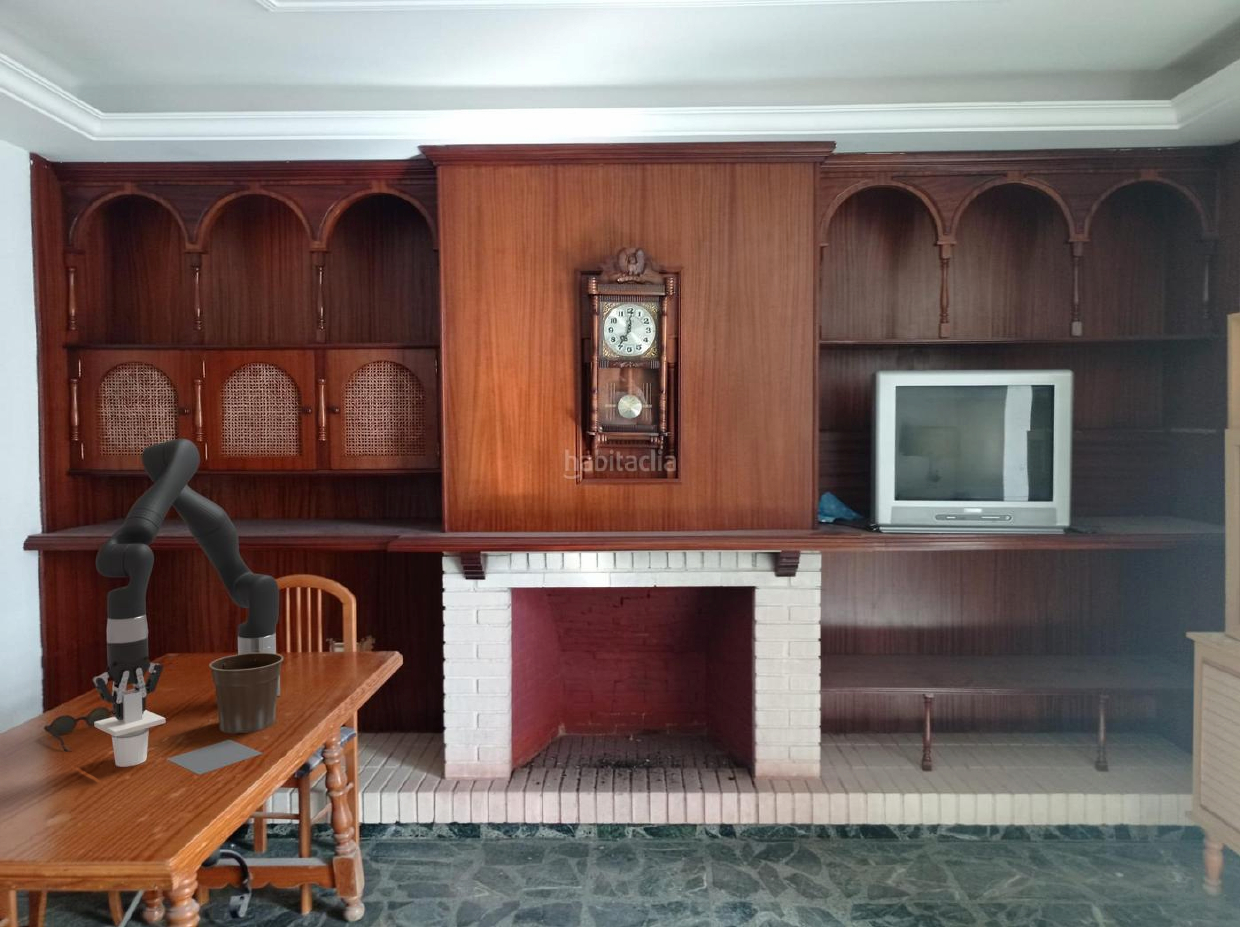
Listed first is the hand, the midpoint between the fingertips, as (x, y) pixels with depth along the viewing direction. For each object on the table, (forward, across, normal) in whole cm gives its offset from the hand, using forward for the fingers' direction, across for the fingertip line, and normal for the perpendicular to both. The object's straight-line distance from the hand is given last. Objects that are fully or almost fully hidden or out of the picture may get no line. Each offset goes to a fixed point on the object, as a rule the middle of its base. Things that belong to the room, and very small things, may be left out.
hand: (129, 716), depth 178 cm
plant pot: (+11, -27, -1) cm, 29 cm away
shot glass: (+11, 0, 0) cm, 11 cm away
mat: (+10, -12, +12) cm, 20 cm away
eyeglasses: (+11, -2, -25) cm, 27 cm away
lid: (+2, 0, 0) cm, 2 cm away
